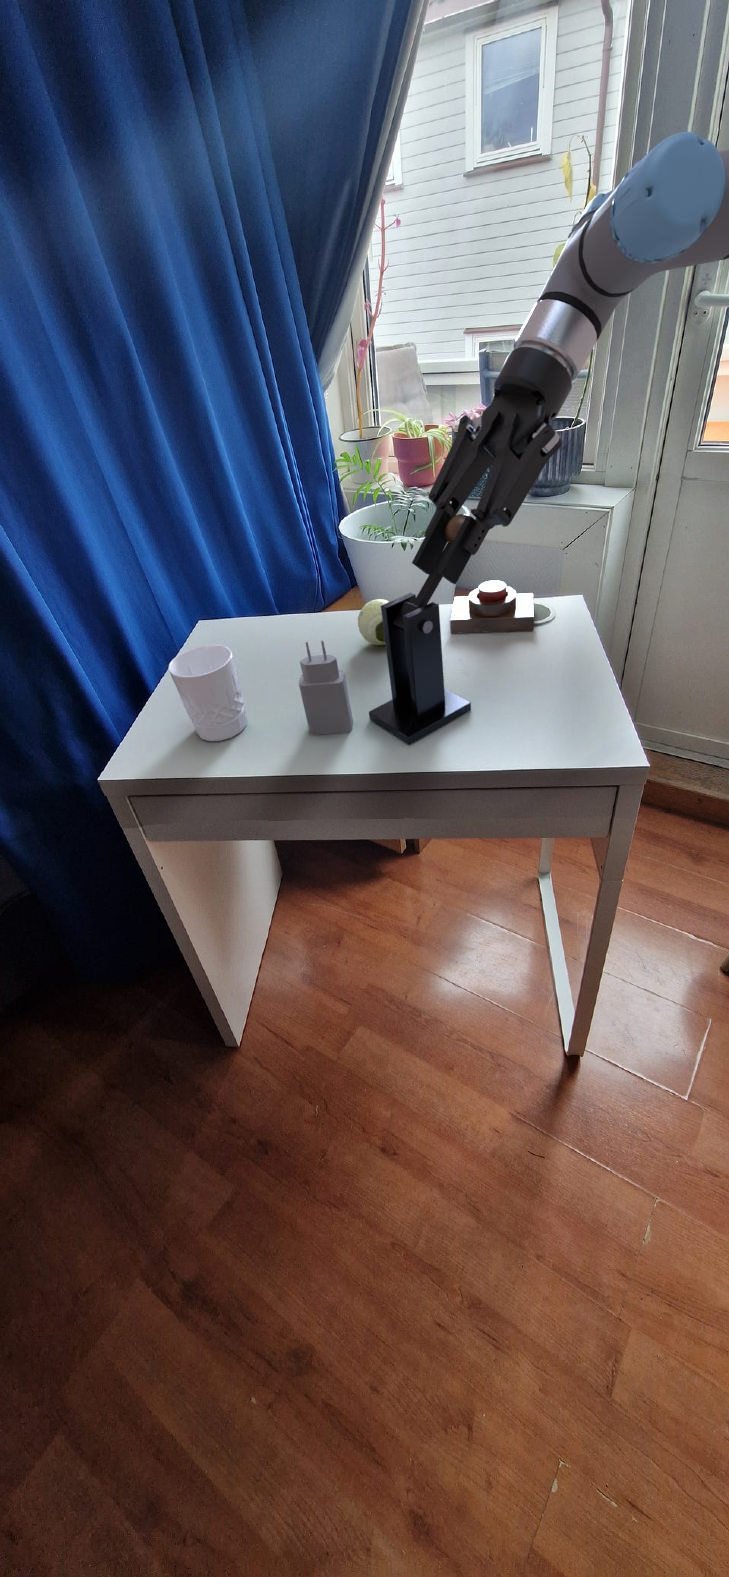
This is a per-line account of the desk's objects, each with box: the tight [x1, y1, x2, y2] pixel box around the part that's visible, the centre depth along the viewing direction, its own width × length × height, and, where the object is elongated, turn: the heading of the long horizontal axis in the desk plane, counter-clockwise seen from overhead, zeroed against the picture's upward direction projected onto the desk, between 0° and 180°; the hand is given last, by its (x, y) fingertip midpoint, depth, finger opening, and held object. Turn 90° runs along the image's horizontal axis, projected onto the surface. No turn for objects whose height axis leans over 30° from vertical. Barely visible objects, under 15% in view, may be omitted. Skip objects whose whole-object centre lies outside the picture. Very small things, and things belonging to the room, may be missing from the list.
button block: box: [449, 585, 535, 634], centre depth 98 cm, size 12×8×4 cm, turn 79°
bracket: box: [368, 592, 472, 746], centre depth 77 cm, size 10×8×15 cm
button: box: [478, 580, 507, 602], centre depth 96 cm, size 4×4×2 cm
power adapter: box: [298, 640, 354, 736], centre depth 79 cm, size 3×5×12 cm, turn 86°
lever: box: [393, 513, 471, 632], centre depth 73 cm, size 14×4×4 cm
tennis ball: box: [357, 598, 390, 647], centre depth 96 cm, size 6×7×7 cm
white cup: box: [168, 644, 248, 742], centre depth 83 cm, size 8×8×10 cm
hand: (433, 573), depth 73 cm, fingers closed on lever, 4 cm apart
